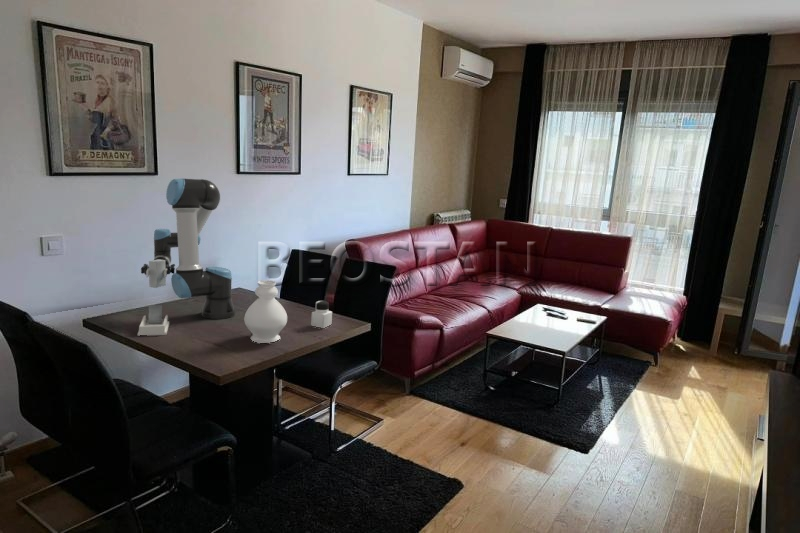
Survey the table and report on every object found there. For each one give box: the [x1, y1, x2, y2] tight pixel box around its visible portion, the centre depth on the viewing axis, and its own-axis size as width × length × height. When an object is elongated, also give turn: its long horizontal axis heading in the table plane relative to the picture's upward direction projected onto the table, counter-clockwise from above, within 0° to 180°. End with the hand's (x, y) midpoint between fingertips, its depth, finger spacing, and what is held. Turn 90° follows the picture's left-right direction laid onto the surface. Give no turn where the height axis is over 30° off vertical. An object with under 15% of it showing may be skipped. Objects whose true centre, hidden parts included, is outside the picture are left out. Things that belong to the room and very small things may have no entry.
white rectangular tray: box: [137, 314, 170, 337], centre depth 230 cm, size 11×16×4 cm
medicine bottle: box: [310, 300, 333, 329], centre depth 250 cm, size 7×7×12 cm
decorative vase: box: [243, 279, 288, 344], centre depth 226 cm, size 18×18×25 cm
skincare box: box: [148, 259, 167, 289], centre depth 242 cm, size 6×4×12 cm
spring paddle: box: [148, 304, 163, 323], centre depth 234 cm, size 5×1×8 cm, turn 109°
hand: (156, 274), depth 237 cm, fingers closed on skincare box, 7 cm apart
